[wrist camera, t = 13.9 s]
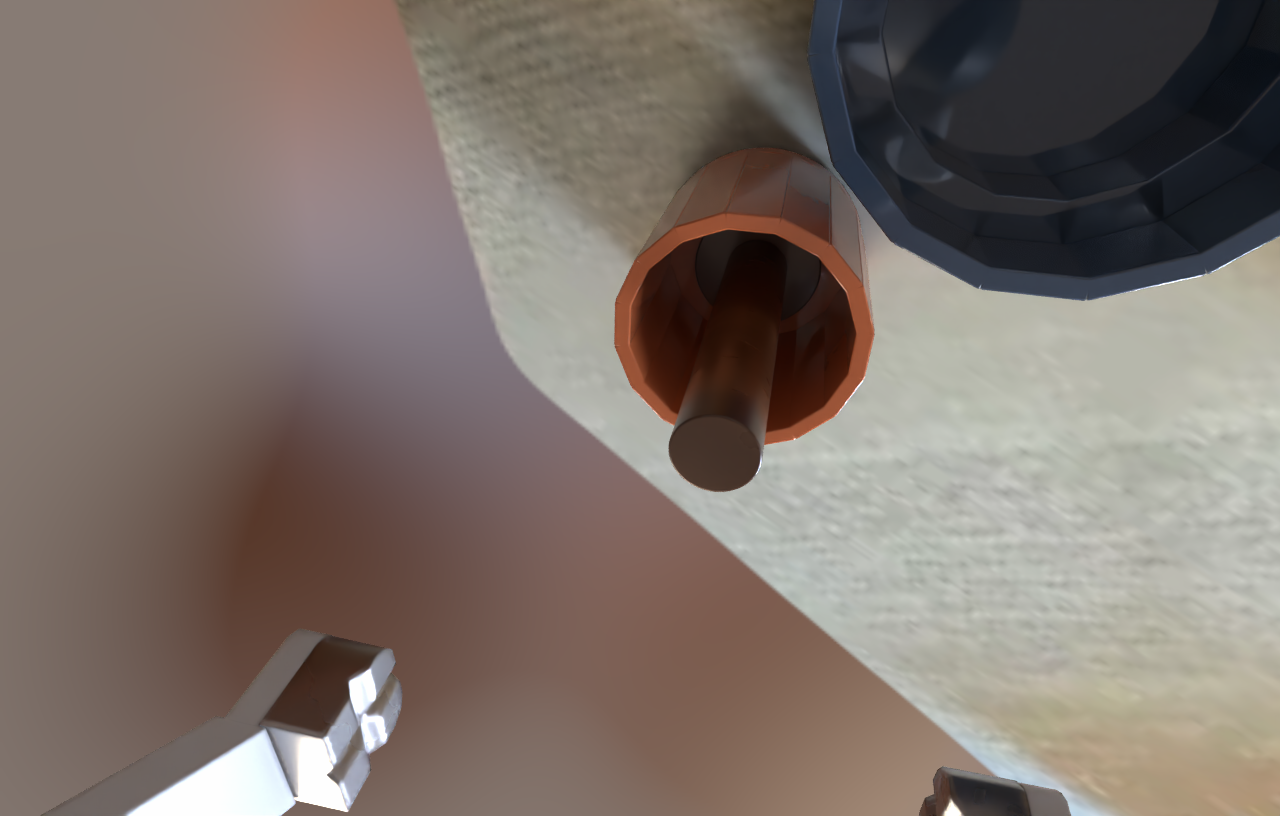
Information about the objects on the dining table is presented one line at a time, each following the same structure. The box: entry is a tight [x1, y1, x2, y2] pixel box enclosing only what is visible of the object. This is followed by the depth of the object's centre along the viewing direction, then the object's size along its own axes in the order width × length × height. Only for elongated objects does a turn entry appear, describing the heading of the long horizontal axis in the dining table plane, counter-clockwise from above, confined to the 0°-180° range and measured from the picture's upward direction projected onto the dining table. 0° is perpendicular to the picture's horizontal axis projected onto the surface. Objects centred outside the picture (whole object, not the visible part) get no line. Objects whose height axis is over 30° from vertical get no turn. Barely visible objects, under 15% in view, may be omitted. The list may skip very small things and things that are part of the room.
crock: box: [614, 148, 874, 445], centre depth 25 cm, size 8×8×8 cm
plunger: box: [669, 229, 821, 492], centre depth 23 cm, size 5×5×13 cm
